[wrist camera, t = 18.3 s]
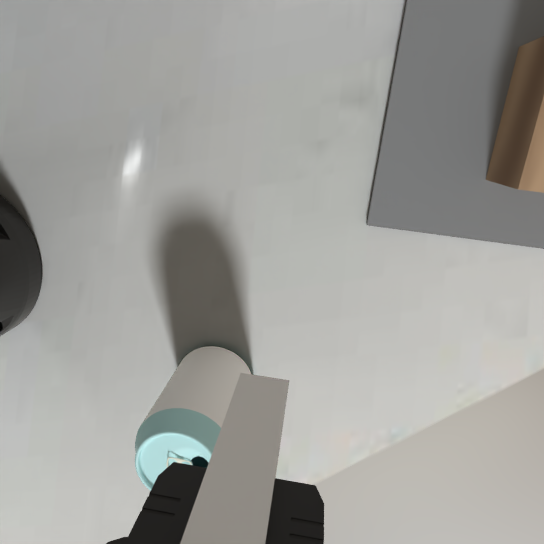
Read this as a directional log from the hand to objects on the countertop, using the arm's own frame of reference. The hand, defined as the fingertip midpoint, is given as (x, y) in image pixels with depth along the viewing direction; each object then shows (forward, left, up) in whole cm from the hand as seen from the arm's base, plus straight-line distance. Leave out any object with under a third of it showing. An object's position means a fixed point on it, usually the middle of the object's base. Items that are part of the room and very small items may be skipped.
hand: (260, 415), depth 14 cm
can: (-6, -14, -25) cm, 29 cm away
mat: (+16, +11, -24) cm, 31 cm away
